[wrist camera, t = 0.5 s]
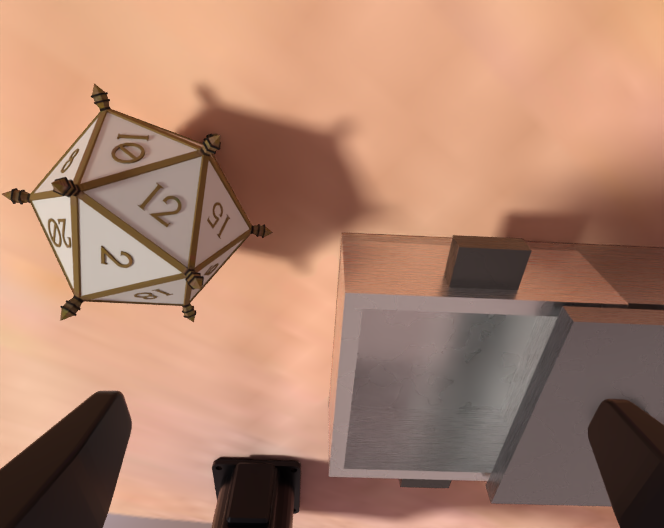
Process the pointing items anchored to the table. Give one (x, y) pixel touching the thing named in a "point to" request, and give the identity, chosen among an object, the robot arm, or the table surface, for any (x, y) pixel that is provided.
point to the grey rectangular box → (455, 343)
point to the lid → (578, 404)
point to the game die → (138, 213)
